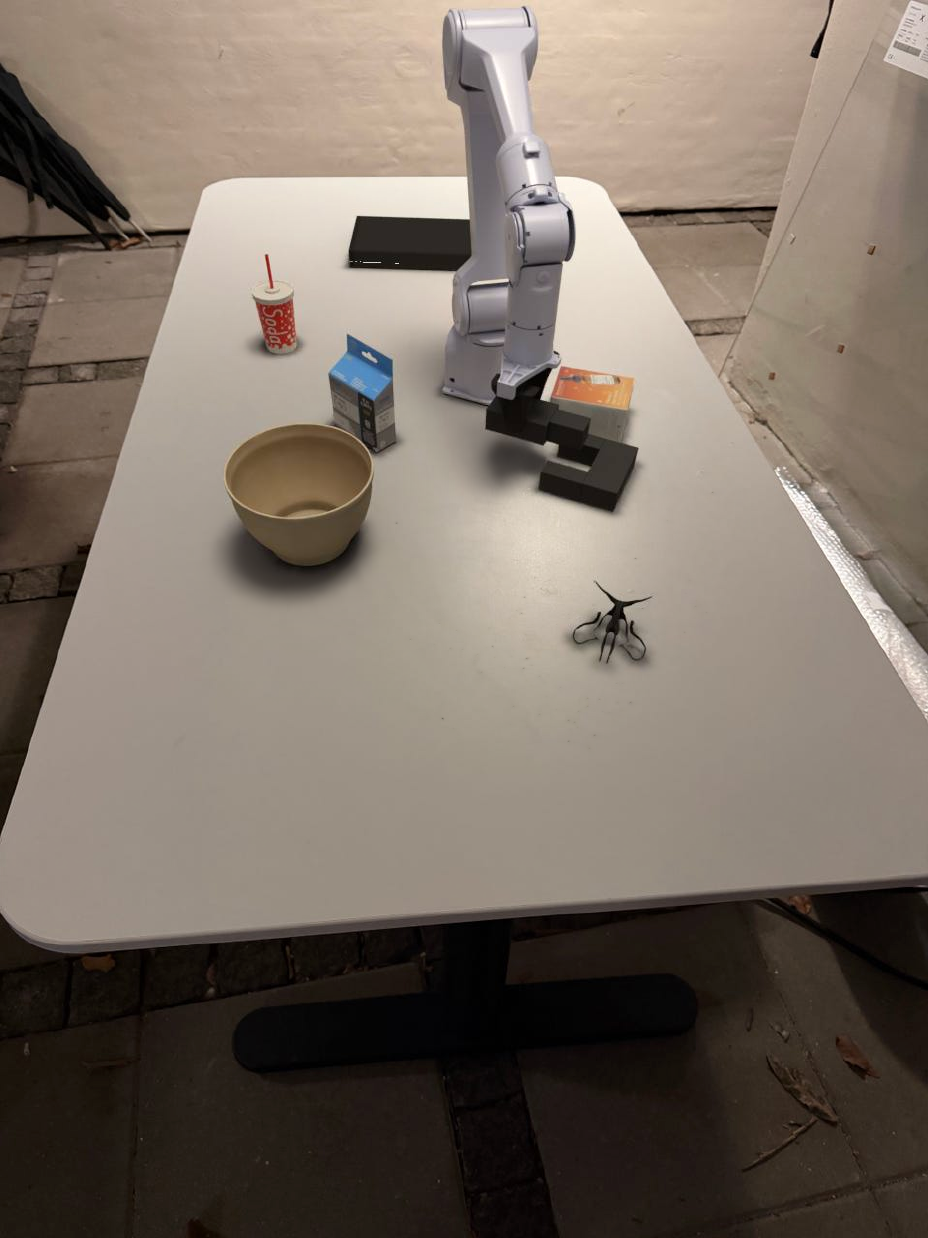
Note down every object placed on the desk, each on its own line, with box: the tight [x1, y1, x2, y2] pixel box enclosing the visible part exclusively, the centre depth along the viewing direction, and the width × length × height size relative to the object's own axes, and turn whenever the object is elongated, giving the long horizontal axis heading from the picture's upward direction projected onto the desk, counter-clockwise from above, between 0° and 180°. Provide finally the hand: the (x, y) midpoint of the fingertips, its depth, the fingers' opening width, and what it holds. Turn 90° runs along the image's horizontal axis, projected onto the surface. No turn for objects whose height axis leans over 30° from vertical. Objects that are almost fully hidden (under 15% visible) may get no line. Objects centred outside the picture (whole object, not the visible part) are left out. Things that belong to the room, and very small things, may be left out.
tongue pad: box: [484, 396, 591, 450], centre depth 98 cm, size 12×5×3 cm, turn 67°
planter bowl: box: [222, 422, 375, 567], centre depth 88 cm, size 16×16×11 cm
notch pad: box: [538, 434, 639, 512], centre depth 100 cm, size 10×10×3 cm
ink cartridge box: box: [327, 333, 397, 453], centre depth 101 cm, size 9×4×12 cm, turn 47°
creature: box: [572, 581, 653, 664], centre depth 82 cm, size 8×5×8 cm
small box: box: [549, 365, 636, 443], centre depth 107 cm, size 8×6×10 cm
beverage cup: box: [250, 253, 298, 355], centre depth 114 cm, size 6×6×14 cm
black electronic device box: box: [348, 215, 472, 271], centre depth 140 cm, size 14×23×3 cm, turn 89°
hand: (521, 417), depth 98 cm, fingers closed on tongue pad, 5 cm apart
